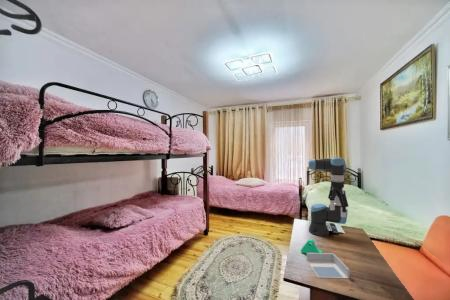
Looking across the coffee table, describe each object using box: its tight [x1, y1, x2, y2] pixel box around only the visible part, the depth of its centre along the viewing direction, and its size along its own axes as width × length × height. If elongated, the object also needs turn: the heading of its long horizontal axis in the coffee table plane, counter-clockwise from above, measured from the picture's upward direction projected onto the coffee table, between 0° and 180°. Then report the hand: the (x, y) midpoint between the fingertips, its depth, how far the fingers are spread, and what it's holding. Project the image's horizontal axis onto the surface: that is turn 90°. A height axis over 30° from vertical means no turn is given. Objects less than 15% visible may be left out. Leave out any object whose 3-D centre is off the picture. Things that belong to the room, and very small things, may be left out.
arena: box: [306, 252, 351, 280], centre depth 115 cm, size 17×17×5 cm
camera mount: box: [300, 238, 323, 255], centre depth 132 cm, size 12×8×10 cm, turn 54°
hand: (337, 213), depth 127 cm, fingers open, 13 cm apart
